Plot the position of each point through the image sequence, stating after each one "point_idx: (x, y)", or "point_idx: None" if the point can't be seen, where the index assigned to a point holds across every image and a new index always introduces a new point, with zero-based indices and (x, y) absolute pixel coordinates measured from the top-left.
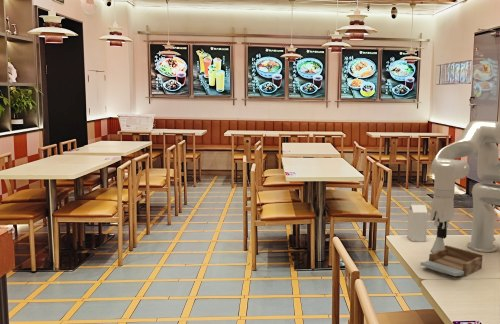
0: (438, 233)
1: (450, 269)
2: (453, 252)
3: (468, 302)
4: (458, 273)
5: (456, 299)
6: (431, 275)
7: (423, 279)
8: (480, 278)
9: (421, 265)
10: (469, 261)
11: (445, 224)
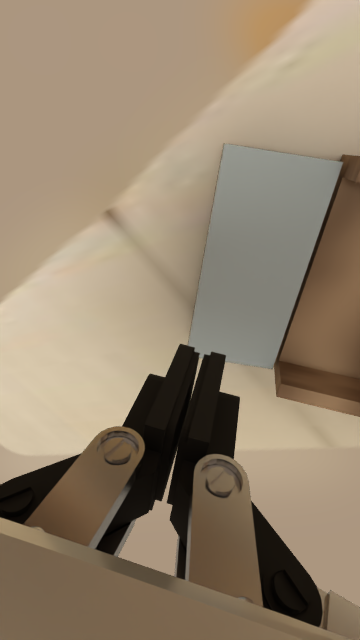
0: (142, 390)
1: (236, 320)
2: None
3: (48, 399)
4: None
5: (37, 370)
6: (185, 231)
7: (108, 218)
8: (291, 406)
9: (222, 152)
10: (346, 402)
11: (177, 568)
